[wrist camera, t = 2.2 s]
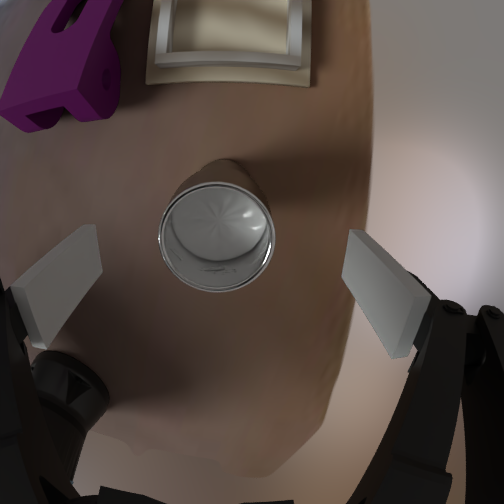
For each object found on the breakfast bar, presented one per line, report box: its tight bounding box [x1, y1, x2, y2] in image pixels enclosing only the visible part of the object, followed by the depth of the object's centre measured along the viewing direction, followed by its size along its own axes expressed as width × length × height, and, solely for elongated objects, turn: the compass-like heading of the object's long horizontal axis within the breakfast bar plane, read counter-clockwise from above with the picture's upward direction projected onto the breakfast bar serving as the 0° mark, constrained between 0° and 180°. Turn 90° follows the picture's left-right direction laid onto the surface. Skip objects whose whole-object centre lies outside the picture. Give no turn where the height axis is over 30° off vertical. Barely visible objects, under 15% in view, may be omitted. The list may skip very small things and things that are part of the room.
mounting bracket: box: [0, 0, 123, 133], centre depth 21 cm, size 9×8×18 cm
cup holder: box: [145, 0, 312, 88], centre depth 21 cm, size 16×16×4 cm
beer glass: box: [158, 159, 276, 292], centre depth 23 cm, size 7×7×15 cm
